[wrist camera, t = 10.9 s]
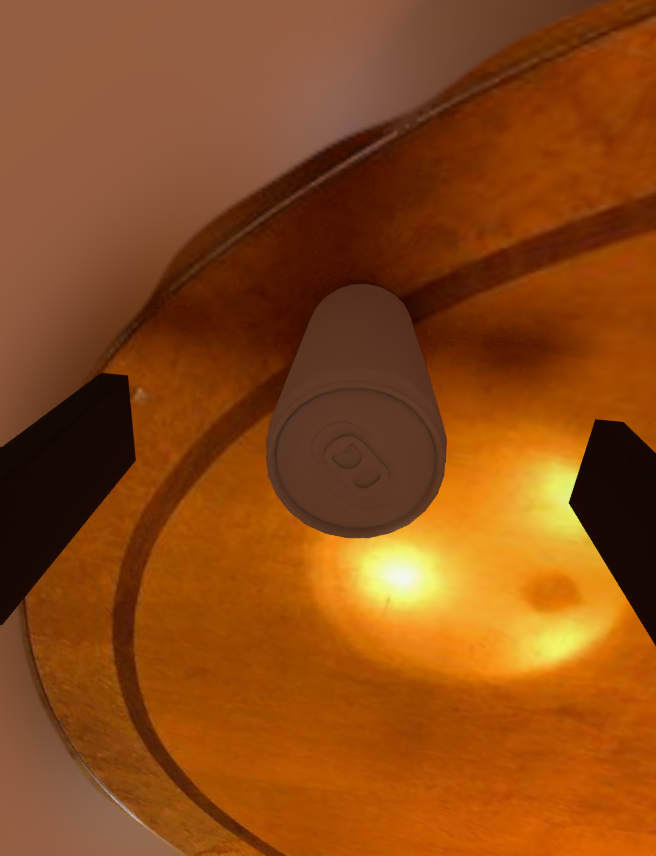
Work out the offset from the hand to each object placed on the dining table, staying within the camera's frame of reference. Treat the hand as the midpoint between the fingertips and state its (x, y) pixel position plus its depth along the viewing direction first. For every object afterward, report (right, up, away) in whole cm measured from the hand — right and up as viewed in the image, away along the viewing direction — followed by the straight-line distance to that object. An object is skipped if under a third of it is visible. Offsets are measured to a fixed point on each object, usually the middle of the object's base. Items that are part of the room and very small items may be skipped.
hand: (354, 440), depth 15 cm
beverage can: (+1, +5, +9) cm, 10 cm away
